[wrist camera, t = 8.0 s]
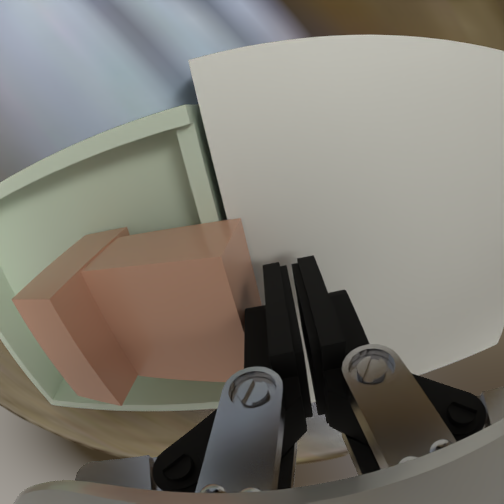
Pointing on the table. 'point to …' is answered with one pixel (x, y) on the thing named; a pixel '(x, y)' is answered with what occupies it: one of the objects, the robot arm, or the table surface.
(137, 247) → the tile
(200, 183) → the tray
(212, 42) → the table surface
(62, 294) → the tile
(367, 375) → the robot arm
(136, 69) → the table surface
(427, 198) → the board
